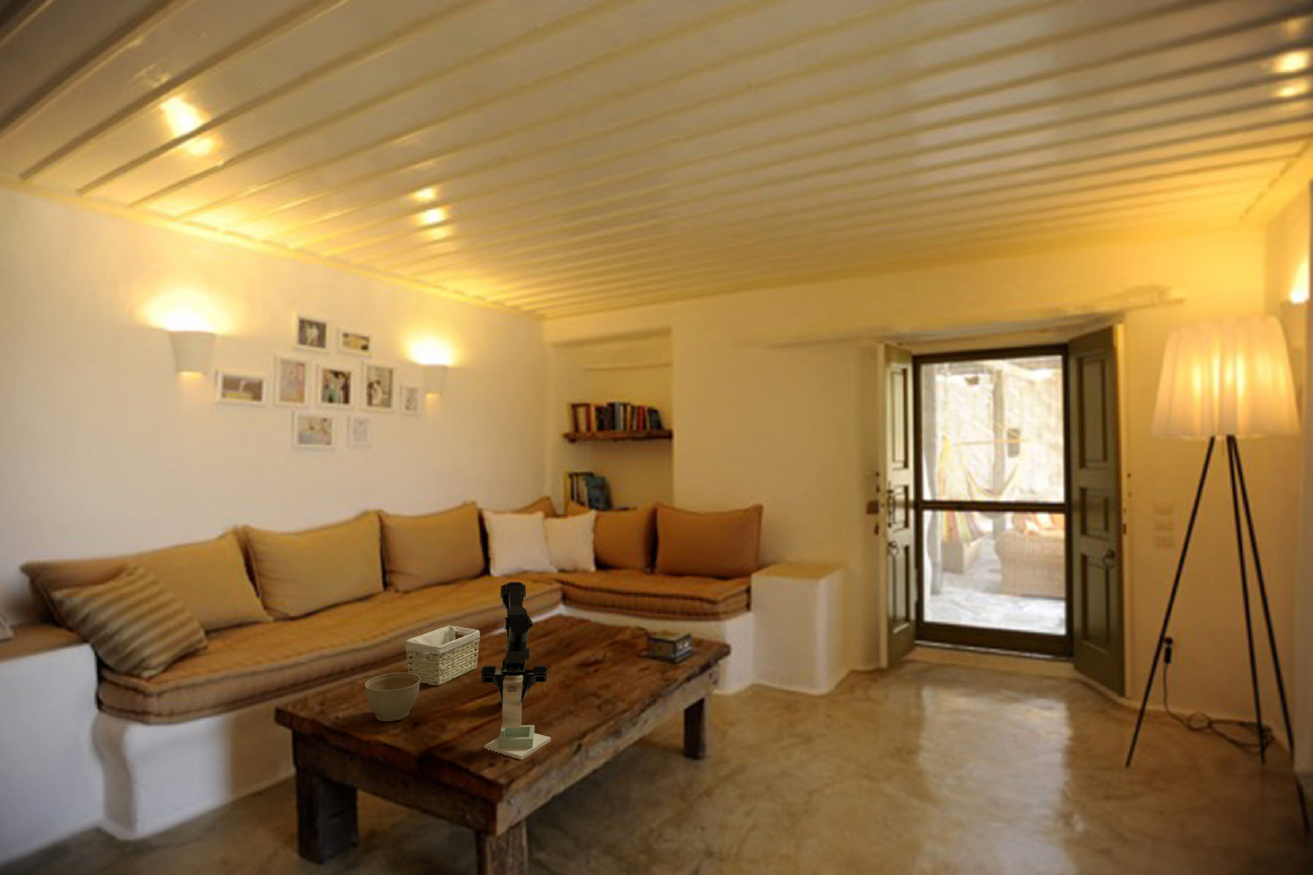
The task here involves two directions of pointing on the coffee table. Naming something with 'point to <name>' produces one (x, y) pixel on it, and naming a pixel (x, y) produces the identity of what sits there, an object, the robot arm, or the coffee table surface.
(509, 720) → the birch cabinet block
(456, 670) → the storage basket
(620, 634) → the coffee table surface
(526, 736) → the board
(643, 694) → the coffee table surface
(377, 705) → the planter bowl
